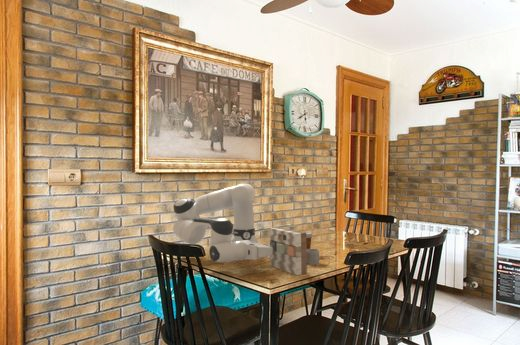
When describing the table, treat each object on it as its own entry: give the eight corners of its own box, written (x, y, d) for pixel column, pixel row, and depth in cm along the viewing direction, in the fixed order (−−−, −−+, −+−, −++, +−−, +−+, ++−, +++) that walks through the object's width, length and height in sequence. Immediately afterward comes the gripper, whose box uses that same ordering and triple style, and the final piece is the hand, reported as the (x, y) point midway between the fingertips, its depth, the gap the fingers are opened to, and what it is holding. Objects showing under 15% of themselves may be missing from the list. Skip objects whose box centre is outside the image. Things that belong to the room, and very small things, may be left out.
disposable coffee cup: (305, 257, 208) (305, 234, 208) (291, 255, 214) (291, 233, 214) (316, 254, 215) (315, 232, 215) (301, 252, 221) (301, 231, 221)
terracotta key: (288, 254, 177) (287, 245, 177) (293, 254, 178) (293, 245, 178) (293, 256, 173) (293, 247, 173) (298, 255, 175) (298, 246, 175)
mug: (315, 261, 198) (315, 248, 198) (321, 264, 192) (321, 250, 192) (297, 263, 195) (297, 249, 195) (303, 266, 189) (302, 252, 189)
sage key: (276, 252, 183) (276, 243, 183) (281, 251, 184) (281, 243, 184) (281, 253, 179) (281, 245, 179) (286, 253, 181) (286, 244, 181)
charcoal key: (270, 249, 190) (270, 241, 190) (275, 248, 191) (275, 240, 191) (274, 250, 186) (274, 242, 186) (280, 250, 188) (280, 241, 188)
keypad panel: (269, 265, 191) (269, 228, 191) (279, 263, 194) (279, 227, 194) (296, 275, 172) (295, 233, 172) (306, 273, 175) (306, 232, 175)
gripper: (234, 252, 189) (259, 249, 196) (256, 260, 172) (282, 257, 179) (234, 239, 189) (259, 237, 196) (255, 246, 172) (282, 243, 179)
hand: (270, 246), depth 187 cm, fingers closed
